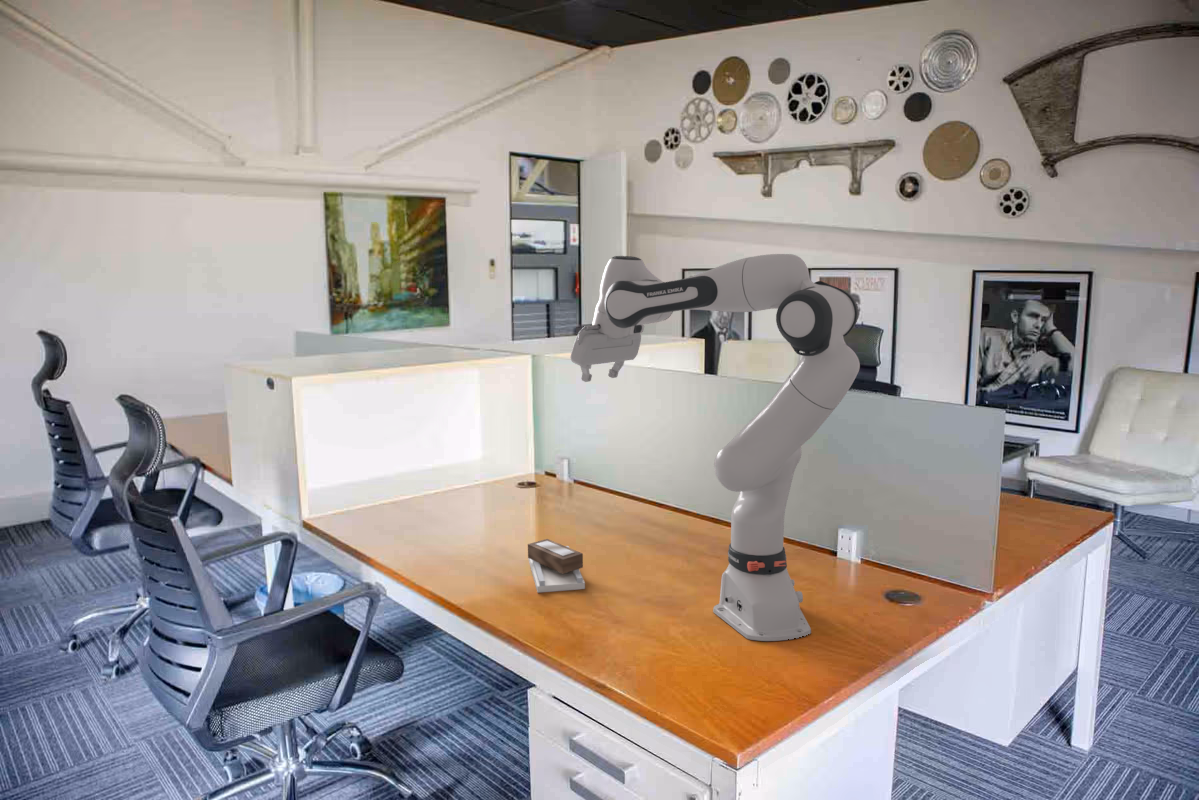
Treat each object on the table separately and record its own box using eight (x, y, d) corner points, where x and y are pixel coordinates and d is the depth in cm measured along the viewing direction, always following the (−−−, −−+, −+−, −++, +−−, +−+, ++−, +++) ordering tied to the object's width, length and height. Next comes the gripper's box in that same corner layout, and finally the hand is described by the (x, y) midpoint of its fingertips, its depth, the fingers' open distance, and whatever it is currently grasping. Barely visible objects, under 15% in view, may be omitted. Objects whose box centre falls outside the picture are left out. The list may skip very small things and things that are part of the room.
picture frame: (582, 567, 195) (582, 552, 194) (562, 573, 191) (562, 558, 191) (547, 552, 206) (547, 538, 205) (528, 557, 202) (527, 543, 201)
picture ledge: (584, 588, 189) (584, 577, 189) (537, 592, 187) (537, 581, 187) (570, 555, 210) (570, 545, 210) (528, 558, 208) (528, 548, 208)
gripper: (590, 330, 180) (578, 388, 185) (649, 325, 195) (636, 379, 200) (571, 321, 184) (559, 378, 189) (629, 317, 199) (617, 370, 204)
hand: (599, 379), depth 195 cm, fingers open, 8 cm apart
